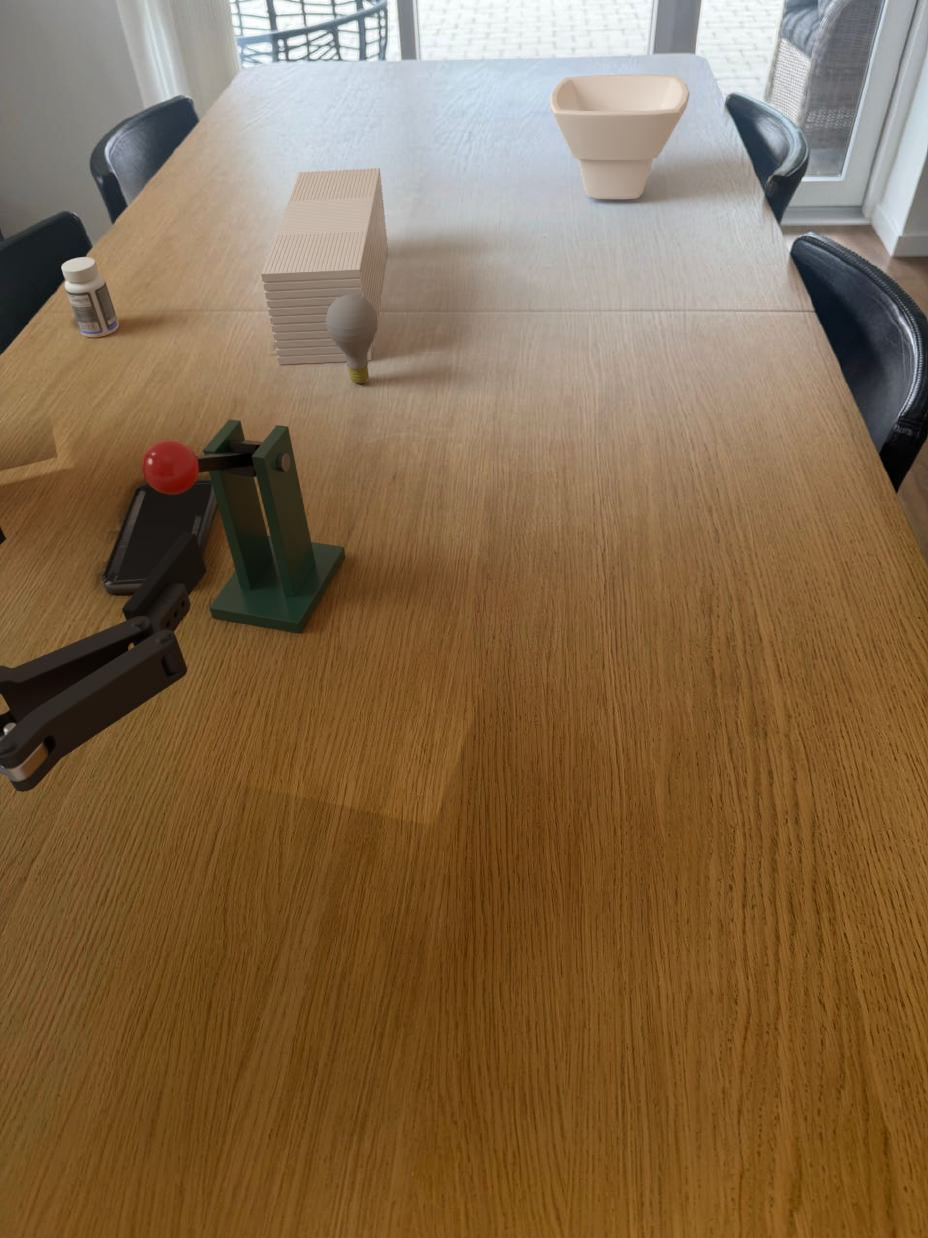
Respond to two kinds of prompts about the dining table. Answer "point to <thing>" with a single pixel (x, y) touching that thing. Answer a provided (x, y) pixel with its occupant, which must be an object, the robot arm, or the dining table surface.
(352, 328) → the light bulb
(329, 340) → the beige tall block
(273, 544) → the switch bracket
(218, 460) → the switch lever
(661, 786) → the dining table surface
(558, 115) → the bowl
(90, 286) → the pill bottle
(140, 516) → the phone
